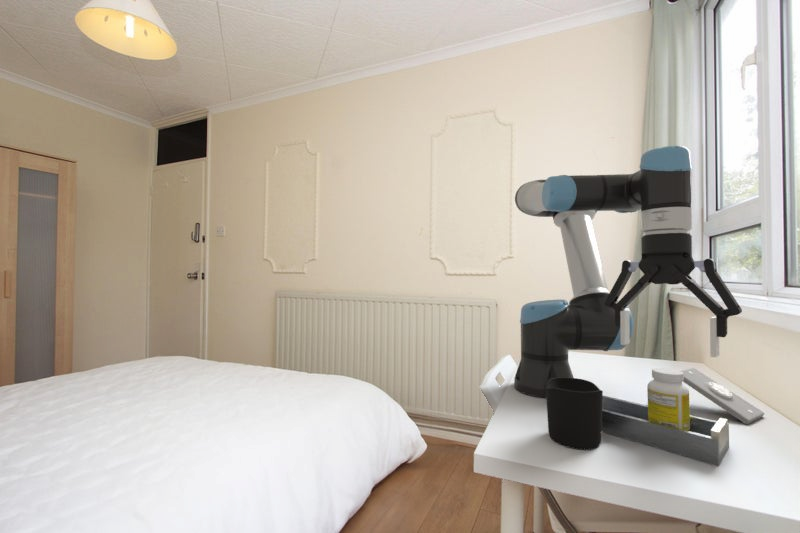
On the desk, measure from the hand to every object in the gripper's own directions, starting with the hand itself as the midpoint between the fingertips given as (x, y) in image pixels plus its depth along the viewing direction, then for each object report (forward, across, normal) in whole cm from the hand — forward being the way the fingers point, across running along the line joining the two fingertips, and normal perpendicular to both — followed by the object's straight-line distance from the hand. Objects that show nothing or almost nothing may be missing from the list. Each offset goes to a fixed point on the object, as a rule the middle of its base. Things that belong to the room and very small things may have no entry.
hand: (666, 349), depth 68 cm
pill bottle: (+15, 0, 0) cm, 15 cm away
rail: (+16, -3, 0) cm, 17 cm away
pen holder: (+17, -11, -13) cm, 24 cm away
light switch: (+17, +3, +26) cm, 31 cm away
